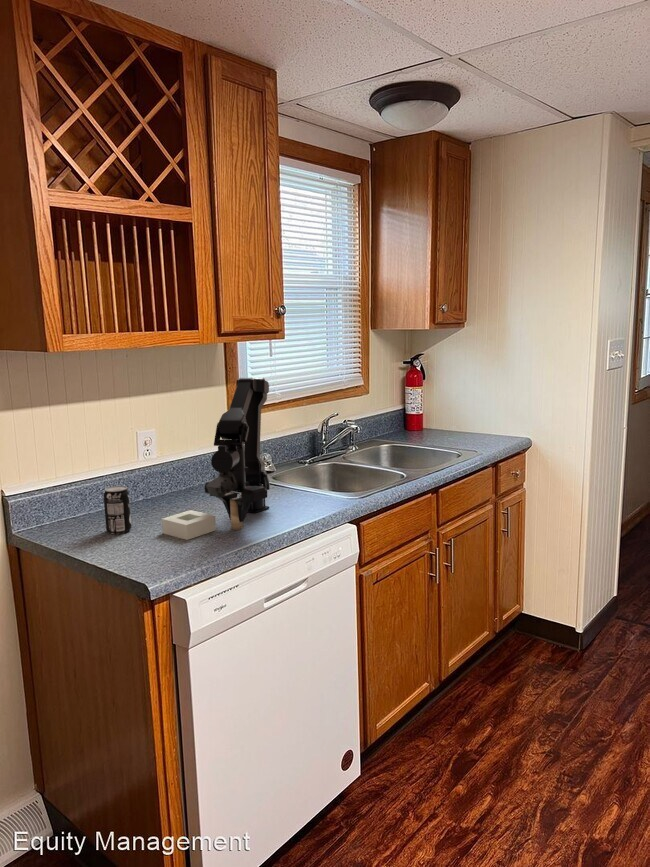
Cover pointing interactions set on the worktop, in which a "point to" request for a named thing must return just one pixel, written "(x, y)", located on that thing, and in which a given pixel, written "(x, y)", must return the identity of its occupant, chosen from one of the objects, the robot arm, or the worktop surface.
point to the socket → (188, 524)
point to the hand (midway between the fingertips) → (236, 520)
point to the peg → (235, 516)
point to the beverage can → (117, 509)
